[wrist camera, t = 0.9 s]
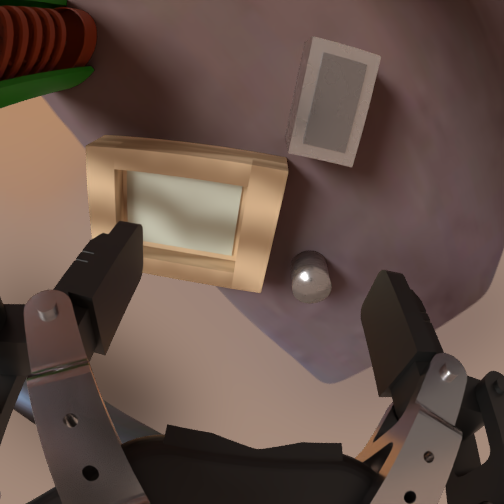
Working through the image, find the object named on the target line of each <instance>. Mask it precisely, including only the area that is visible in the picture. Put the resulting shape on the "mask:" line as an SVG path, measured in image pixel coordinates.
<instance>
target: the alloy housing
mask: <svg viewBox="0 0 504 504" xmlns="http://www.w3.org/2000/svg"><path fill="white" fill-rule="evenodd" d="M380 59H381V56H379V55H376V54H373V53H370V52H367V51H364V50H361V49H357V48H354V47H351V46H347V45H344V44H340V43H337V42H333V41H329V40H325V39H321V38H317V37H312V38H310V39H309V40H307V41H306V42H304V47H303V52H302V57H301V62H300V67H299V72H298V76H297V81H296V86H295V91H294V96H293V100H292V105H291V110H290V115H289V119H288V124H287V129H286V134H285V139H286V144H287V149H288V153H290V154H295V155H300V156H304V157H309V158H314V159H318V160H323V161H327V162H331V163H336V164H340V165H344V166H348V167H352V166H353V163H354V160H355V156H356V153H357V149H358V145H359V142H360V138H361V135H362V131H363V127H364V124H365V120H366V116H367V112H368V108H369V104H370V101H371V97H372V93H373V88H374V84H375V80H376V76H377V72H378V67H379V63H380Z"/></svg>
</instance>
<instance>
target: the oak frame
mask: <svg viewBox="0 0 504 504" xmlns="http://www.w3.org/2000/svg"><path fill="white" fill-rule="evenodd" d="M86 170H87V188H88V201H89V213H90V222H91V232H92V239H93V238H95V237H97V236H98V235H100V234H102V233H106V234H109V233H110V232H111V230H112V229H113V228H114V226H115V225H116V224H117V223H118V222H119V221H125V222H131V223H136V224H141V225H142V227H143V271H142V273H147V274H153V275H158V276H164V277H169V278H175V279H180V280H186V281H192V282H197V283H202V284H208V285H214V286H220V287H226V288H232V289H238V290H244V291H251V292H257V293H261V289H262V285H263V281H264V277H265V272H266V268H267V264H268V260H269V255H270V251H271V247H272V242H273V238H274V234H275V229H276V225H277V221H278V216H279V212H280V207H281V203H282V199H283V194H284V190H285V185H286V181H287V176H288V172H289V171H288V165H287V158H286V157H281V156H275V155H270V154H264V153H258V152H253V151H246V150H240V149H234V148H227V147H220V146H213V145H206V144H198V143H190V142H182V141H173V140H163V139H153V138H142V137H130V136H115V135H104V136H102V137H101V138H99V139H97V140H95V141H93V142H92V143H90V144H88V145H86Z"/></svg>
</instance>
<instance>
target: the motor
mask: <svg viewBox="0 0 504 504" xmlns="http://www.w3.org/2000/svg"><path fill="white" fill-rule="evenodd" d="M66 5H67V0H0V108H3V107H6V106H8V105H12V104H15V103H18V102H21V101H24V100H27V99H31V98H34V97H38V96H42V95H45V94H49V93H53V92H57V91H61V90H65V89H69V88H72V87H75V86H77V85H78V84H80V83H82V82H83V81H84V80H86V79H87V78H88V77H89V76H90V75H91V74H92V73H93V72H94V69H93V68H92V67H91V66H86V67H84V66H85V65H86V64H87V63H88V61H89V60H90V58H91V56H92V54H93V52H94V49H95V46H96V41H97V29H96V25H95V22H94V20H93V18H92V17H91V16H90V15H89V14H88V13H87V12H85V11H83V10H80V9H74V8H68V7H64V6H66ZM66 41H67V45H66V46H65V42H66Z"/></svg>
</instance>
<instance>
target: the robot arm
mask: <svg viewBox="0 0 504 504" xmlns="http://www.w3.org/2000/svg"><path fill="white" fill-rule="evenodd" d="M142 271H143V227H142V225H141V224H136V223H131V222H125V221H119V222H118V223H117V224H116V225H115V226H114V228H113V229H112V230H111V232H110V233H109V234H106V233H102V234H100V235H98V236H97V237H95V238H93V239H92V240H90V242H89V243H88V244H87V245H86V247H85V248H84V249H83V251H82V252H81V253H80V254H79V256H78V257H77V258H76V261H74V262H73V263H72V265H71V266H70V267H69V269H68V270H67V271H66V273H65V274H64V275H63V277H62V278H61V280H60V281H59V282H58V284H57V285H56V287H55V288H54V289H53V290H45V291H41V292H39V293H37V294H35V295H34V296H32V297H31V298H30V299H29V300H28V302H27V303H26V304H3V303H2V300H1V298H0V444H1V441H2V438H3V435H4V432H5V430H6V427H7V424H8V421H9V419H10V416H11V413H12V411H13V408H14V406H15V403H16V401H17V398H18V396H19V393H20V391H21V389H22V386H23V384H24V382H25V379H26V377H27V387H28V392H29V397H30V402H31V406H32V411H33V415H34V419H35V423H36V426H37V431H38V434H39V437H40V441H41V445H42V448H43V451H44V455H45V458H46V461H47V464H48V467H49V470H50V473H51V475H52V478H53V481H54V483H55V487H54V488H52V489H50V490H49V491H47V492H45V493H44V494H42V495H40V496H39V497H37V498H35V499H33V500H32V501H30V502H28V503H26V504H438V502H439V500H440V498H441V495H442V493H443V490H444V488H445V487H446V495H447V503H448V504H504V376H503V375H502V374H501V373H499V372H496V371H491V372H489V373H488V374H487V375H486V376H485V377H484V378H483V379H482V380H478V379H475V378H473V377H469V376H467V374H466V371H465V368H464V367H463V365H462V364H461V363H460V361H459V360H458V359H456V358H455V357H454V356H452V355H450V354H447V353H444V352H443V349H442V347H441V345H440V342H439V340H438V337H437V335H436V333H435V330H434V328H433V326H432V323H430V319H429V316H428V314H426V310H425V308H424V305H423V303H422V301H421V300H420V298H419V297H418V296H417V295H416V294H415V293H414V292H413V290H411V289H410V288H409V285H408V283H407V281H406V279H405V277H404V275H403V274H401V273H397V272H391V271H386V270H382V271H380V272H379V274H378V275H377V277H376V279H375V281H374V283H373V285H372V287H371V289H370V291H369V293H368V295H367V297H366V299H365V301H364V303H363V305H362V309H361V321H362V325H363V329H364V333H365V337H366V341H367V345H368V350H369V354H370V358H371V362H372V367H373V371H374V376H375V380H376V385H377V390H378V395H379V397H392V399H393V402H392V403H391V405H389V407H388V409H387V410H386V412H385V414H384V416H383V418H382V419H381V421H380V423H379V425H378V426H377V428H376V430H375V431H374V433H373V435H372V436H371V438H370V440H369V441H368V443H367V444H366V446H365V447H364V449H363V450H362V451H361V452H360V453H359V454H358V455H357V456H356V457H355V458H352V457H350V456H347V455H344V454H342V444H341V443H305V442H301V443H296V444H290V445H285V446H279V447H272V448H266V449H254V448H251V447H248V446H245V445H242V444H239V443H237V442H234V441H231V440H228V439H226V438H223V437H221V436H218V435H216V434H213V433H209V432H203V431H198V430H192V429H187V428H182V427H177V426H172V425H167V428H166V433H165V435H150V436H144V437H140V438H136V439H133V440H130V441H127V442H125V443H123V444H122V443H121V441H120V439H119V436H118V434H117V432H116V430H115V427H114V425H113V423H112V421H111V418H110V416H109V414H108V411H107V409H106V406H105V404H104V401H103V398H102V396H101V393H100V391H99V388H98V385H97V382H96V380H95V377H94V374H93V371H92V368H91V365H90V360H91V357H92V355H93V353H94V352H95V353H99V354H102V355H106V353H107V351H108V348H109V346H110V343H111V341H112V339H113V337H114V335H115V332H116V330H117V328H118V326H119V324H120V321H121V319H122V317H123V315H124V313H125V311H126V308H127V306H128V304H129V302H130V300H131V298H132V295H133V294H134V292H135V290H136V287H137V285H138V283H139V281H140V279H141V276H142ZM484 425H485V429H486V433H487V437H488V441H489V445H490V456H489V458H488V460H487V461H486V462H485V463H484V464H482V465H481V463H480V458H479V453H478V449H477V444H476V440H475V436H474V433H475V432H476V431H478V430H479V429H480V428H482V427H483V426H484ZM0 498H1V493H0Z"/></svg>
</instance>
